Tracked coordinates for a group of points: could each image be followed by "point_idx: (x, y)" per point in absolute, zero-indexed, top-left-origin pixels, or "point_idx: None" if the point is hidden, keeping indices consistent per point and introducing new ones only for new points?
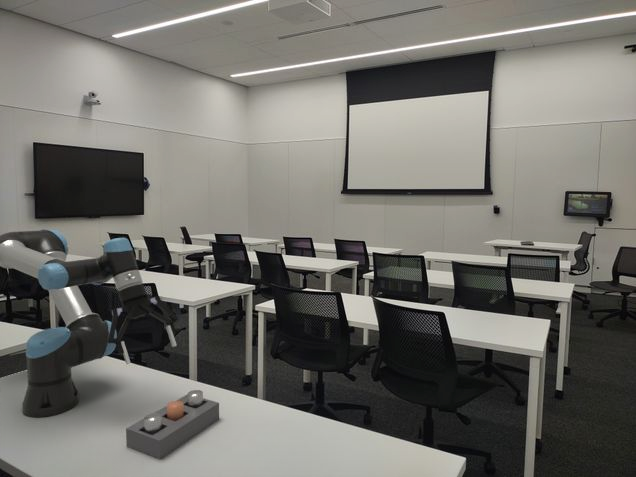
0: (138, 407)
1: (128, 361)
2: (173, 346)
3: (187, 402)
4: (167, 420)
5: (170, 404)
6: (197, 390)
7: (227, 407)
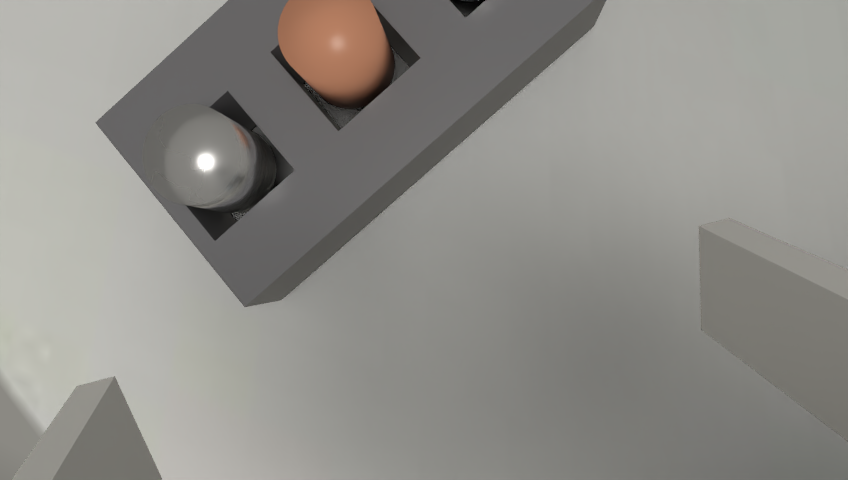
0: (538, 431)
1: (731, 228)
2: (133, 425)
3: (264, 199)
4: (391, 1)
5: (355, 40)
6: (170, 193)
7: (92, 256)
